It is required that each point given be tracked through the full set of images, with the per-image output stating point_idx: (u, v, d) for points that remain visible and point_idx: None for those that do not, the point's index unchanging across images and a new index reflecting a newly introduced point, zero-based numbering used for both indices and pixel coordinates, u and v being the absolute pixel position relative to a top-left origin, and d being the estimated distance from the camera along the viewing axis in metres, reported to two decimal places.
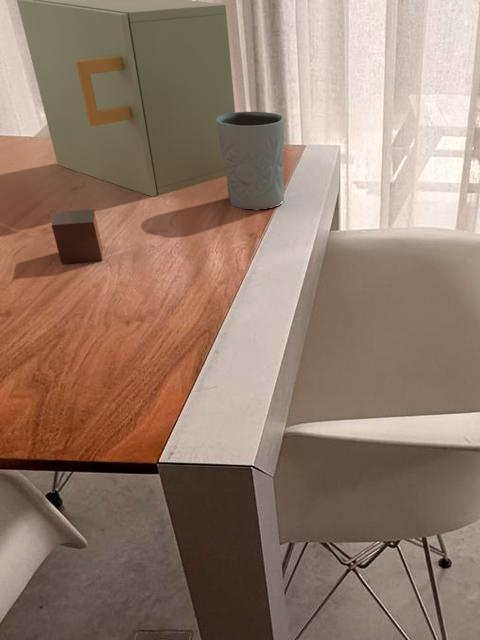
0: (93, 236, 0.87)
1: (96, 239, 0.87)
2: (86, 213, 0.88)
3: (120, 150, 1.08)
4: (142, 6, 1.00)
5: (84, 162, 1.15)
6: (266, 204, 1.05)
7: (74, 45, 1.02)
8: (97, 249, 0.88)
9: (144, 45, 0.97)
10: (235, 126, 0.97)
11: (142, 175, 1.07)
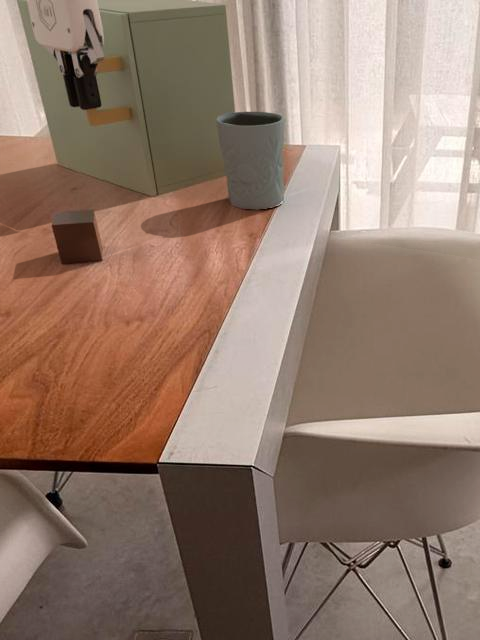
0: (93, 236, 0.87)
1: (96, 239, 0.87)
2: (86, 213, 0.88)
3: (120, 150, 1.08)
4: (142, 6, 1.00)
5: (84, 162, 1.15)
6: (266, 204, 1.05)
7: None
8: (97, 249, 0.88)
9: (144, 45, 0.97)
10: (235, 126, 0.97)
11: (142, 175, 1.07)
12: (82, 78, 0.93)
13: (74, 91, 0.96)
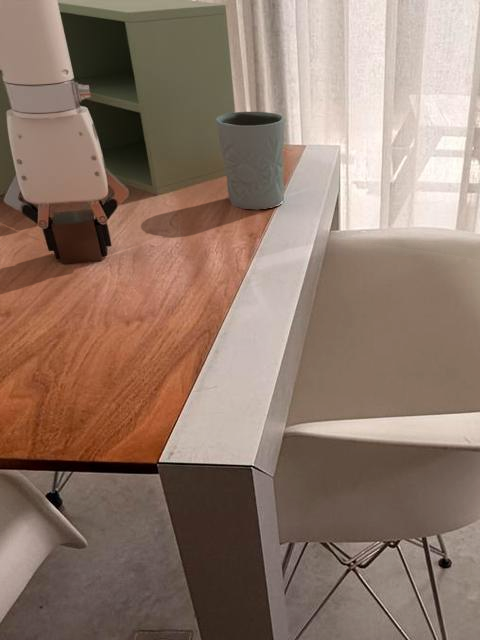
0: (93, 236, 0.87)
1: (96, 239, 0.87)
2: (86, 213, 0.88)
3: None
4: (142, 6, 1.00)
5: None
6: (266, 204, 1.05)
7: None
8: (97, 249, 0.88)
9: (144, 45, 0.97)
10: (235, 126, 0.97)
11: None
12: None
13: None
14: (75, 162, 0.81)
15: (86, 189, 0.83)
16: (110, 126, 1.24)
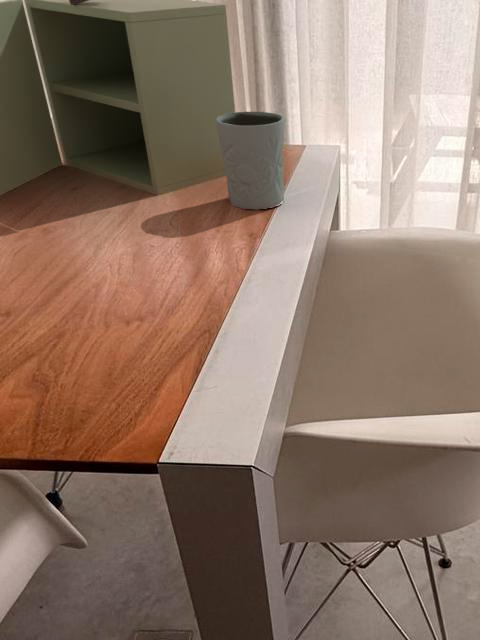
0: None
1: None
2: None
3: None
4: (142, 6, 1.00)
5: None
6: (266, 204, 1.05)
7: None
8: None
9: (144, 45, 0.97)
10: (235, 126, 0.97)
11: None
12: None
13: None
14: None
15: None
16: (110, 126, 1.24)
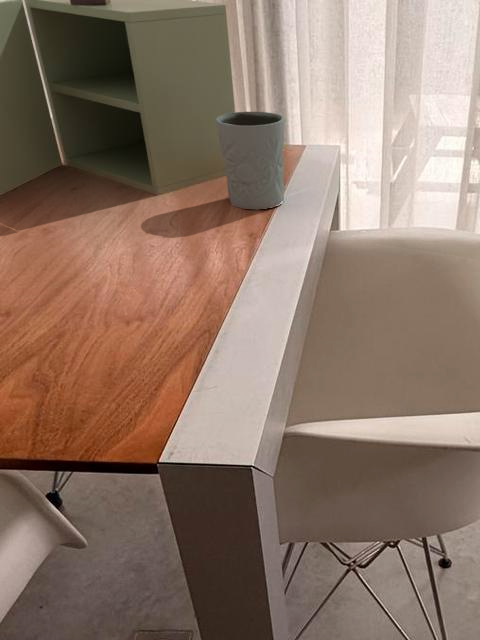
0: None
1: None
2: None
3: None
4: (142, 6, 1.00)
5: None
6: (266, 204, 1.05)
7: None
8: None
9: (144, 45, 0.97)
10: (235, 126, 0.97)
11: None
12: None
13: None
14: None
15: None
16: (110, 126, 1.24)
